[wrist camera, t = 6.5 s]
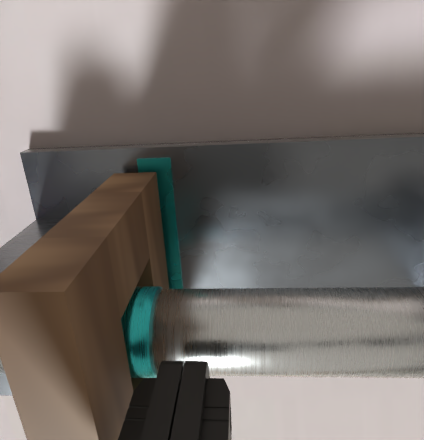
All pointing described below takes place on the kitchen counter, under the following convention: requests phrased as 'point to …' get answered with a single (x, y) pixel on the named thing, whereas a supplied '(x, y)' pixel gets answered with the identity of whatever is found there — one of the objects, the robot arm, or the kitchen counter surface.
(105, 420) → the collar
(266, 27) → the kitchen counter surface
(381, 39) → the kitchen counter surface
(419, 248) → the rail
